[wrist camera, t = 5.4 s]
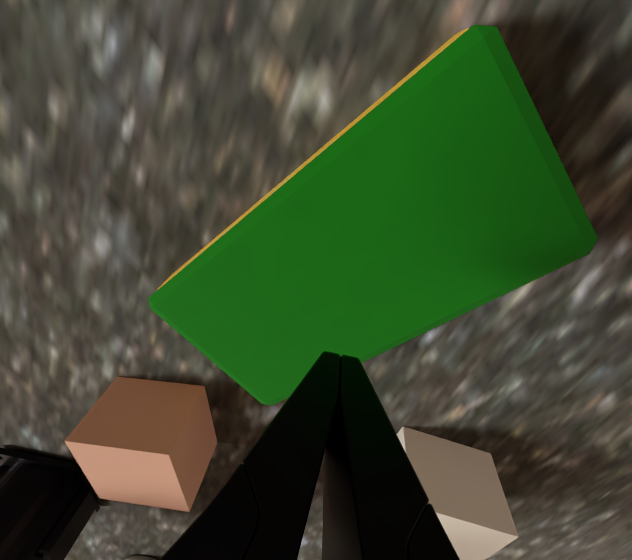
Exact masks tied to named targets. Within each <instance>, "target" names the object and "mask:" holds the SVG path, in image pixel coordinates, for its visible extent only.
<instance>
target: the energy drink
mask: <svg viewBox="0 0 632 560" xmlns="http://www.w3.org/2000/svg"><path fill="white" fill-rule="evenodd" d="M125 560H157V559H154V558H151V557H146V556H139V555H135V556H130V557H128V558H126V559H125Z"/></svg>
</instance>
